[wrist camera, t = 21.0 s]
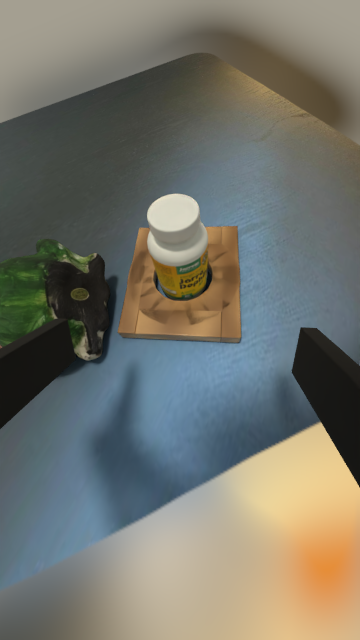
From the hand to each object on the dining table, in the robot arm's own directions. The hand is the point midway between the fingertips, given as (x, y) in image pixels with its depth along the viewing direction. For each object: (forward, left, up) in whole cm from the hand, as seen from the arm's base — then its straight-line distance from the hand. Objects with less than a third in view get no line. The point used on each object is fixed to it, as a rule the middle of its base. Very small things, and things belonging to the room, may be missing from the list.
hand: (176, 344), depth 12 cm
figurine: (+16, -5, -9) cm, 19 cm away
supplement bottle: (+1, -10, -9) cm, 14 cm away
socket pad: (+1, -10, -9) cm, 14 cm away
